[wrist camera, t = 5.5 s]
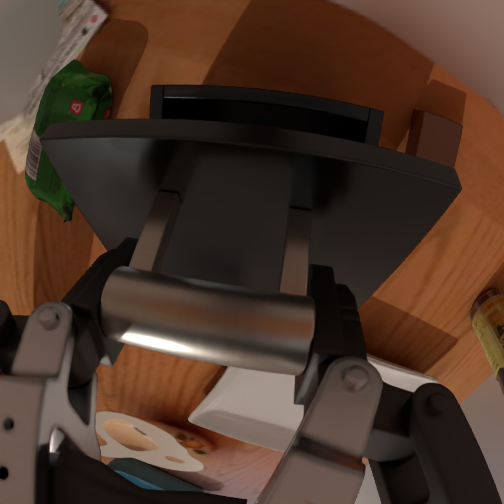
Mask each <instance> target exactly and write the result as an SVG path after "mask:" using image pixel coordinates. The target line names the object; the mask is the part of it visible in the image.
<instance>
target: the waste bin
mask: <svg viewBox="0 0 504 504" xmlns="http://www.w3.org/2000/svg"><path fill="white" fill-rule="evenodd" d="M383 115H384V112H383V111H380V110H376V109H372V108H368V107H364V106H360V105H355V104H351V103H346V102H342V101H337V100H332V99H327V98H321V97H315V96H310V95H303V94H297V93H290V92H283V91H275V90H266V89H257V88H246V87H233V86H216V85H152V86H151V97H150V117H149V119H183V120H203V121H218V122H230V123H241V124H251V125H260V126H268V127H276V128H283V129H290V130H297V131H303V132H309V133H315V134H321V135H326V136H332V137H337V138H342V139H347V140H352V141H356V142H361V143H365V144H370V145H374V146H378V143H379V138H380V132H381V127H382V121H383Z"/></svg>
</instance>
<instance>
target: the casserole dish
mask: <svg viewBox="0 0 504 504" xmlns="http://www.w3.org/2000/svg"><path fill="white" fill-rule="evenodd" d="M107 466H108V467H110V468H111V469H113V470H114V471H116V472H117V473H119V474H120V475H122V476H123V477H125V478H126V479H128V480H129V481H131V482H133V483H134V484H136V485H138V486H139V487H141V488H145V489H153V490H172V491H199V492H203V491H202V489H200V488H198V487H196V486H194V485H191V484H189V483H187V482H185V481H182V480H180V479H178V478H176V477H173V476H171V475H169V474H167V473H165V472H163V471H161V470H159V469H157V468H155V467H153V466H151V465H148V464H146V463H144V462H142V461H140V460H138V459H134V458H121V459H115V460H113V461H111V462H110V463H109V464H108V465H107Z"/></svg>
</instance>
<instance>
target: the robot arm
mask: <svg viewBox="0 0 504 504" xmlns="http://www.w3.org/2000/svg"><path fill="white" fill-rule="evenodd" d="M138 240H139V238H137V237H130V236H128V237H126V238H125V239H124V240H123V242H122V243H121V244H120V245H119V246H118V247H117V248H116V249H111V250H109V251H107V252H106V253H104V254H102V255H101V256H99V257H98V259H97V260H96V261H95V262H94V263H93V264H92V266H91V267H89V269H88V270H87V271H86V272H85V275H82V277H81V278H80V279H79V280H78V281H77V282H76V284H75V285H74V286H73V287H72V288H71V290H70V291H69V292H68V293H67V294H66V296H65V297H64V298H63V299H62V300H61V302H60V301H51V302H47V303H44V304H42V305H40V306H38V307H37V308H36V309H34V310H33V311H32V313H31V314H30V316H22V315H12V313H11V311H10V309H9V307H8V305H7V303H6V302H4V301H2V300H0V504H247V499H240V498H233V497H226V496H220V495H215V494H209V493H204V492H199V491H172V490H153V489H145V488H141V487H139V486H138V485H136V484H134V483H133V482H131V481H129V480H128V479H126V478H125V477H123V476H122V475H120V474H119V473H117V472H116V471H114V470H113V469H111V468H110V467H108V466H107V465H105V464H104V463H103V462H101V450H100V446H99V442H98V439H97V436H96V430H95V419H96V400H97V386H98V375H97V372H96V369H97V367H98V366H99V364H100V363H102V364H105V365H108V366H111V367H113V365H114V363H115V361H116V359H117V357H118V355H119V353H120V351H121V350H122V348H123V346H124V344H125V343H122V342H119V341H115V340H112V339H109V338H108V337H107V336H106V335H105V334H104V332H103V330H102V328H101V324H100V316H99V309H100V300H101V295H102V292H103V288H104V286H105V283H106V281H107V279H108V277H109V276H110V274H111V273H112V272H113V271H114V270H115V269H116V268H118V267H122V266H126V267H129V264H130V262H131V259H132V256H133V253H134V250H135V248H136V245H137V242H138ZM307 296H310V297H312V298H313V299H314V302H315V309H316V321H315V332H314V339H313V345H312V350H311V355H310V358H309V362H308V365H307V367H306V369H305V371H304V373H303V374H302V375H300V376H295V384H294V404H295V405H304V414H303V419H302V421H301V423H300V424H299V426H298V428H297V430H296V432H295V434H294V436H293V438H292V440H291V442H290V444H289V446H288V447H287V449H286V451H285V453H284V455H283V457H282V458H281V460H280V462H279V464H278V465H277V467H276V469H275V471H274V472H273V474H272V476H271V477H270V479H269V481H268V482H267V484H266V486H265V487H264V489H263V490H262V492H261V494H260V495H259V497H258V499H257V500H256V502H255V503H254V504H354V503H355V500H356V498H357V495H358V493H359V490H360V487H361V485H362V482H363V479H364V475H365V468H366V467H365V464H363V463H362V457H365V458H368V461H369V464H370V467H371V470H372V473H373V477H374V480H375V483H376V487H377V490H378V493H379V497H380V500H381V504H502V502H501V499H500V496H499V493H498V491H497V488H496V485H495V483H494V480H493V478H492V475H491V473H490V470H489V468H488V465H487V463H486V461H485V458H484V456H483V454H482V451H481V449H480V447H479V445H478V443H477V440H476V438H475V436H474V434H473V432H472V429H471V427H470V425H469V423H468V421H467V419H466V417H465V415H464V413H463V411H462V409H461V407H460V405H459V403H458V401H457V399H456V398H455V396H454V394H453V393H452V392H451V391H450V390H449V389H448V388H446V387H445V386H443V385H441V384H438V383H425V384H422V385H421V386H419V387H418V388H417V389H416V390H415V392H411V391H408V390H405V389H401V388H398V387H395V386H392V385H390V384H387V383H386V382H384V381H382V377H381V375H380V373H379V371H378V370H377V369H376V368H375V366H373V365H372V364H371V363H370V362H368V359H367V354H366V348H365V343H364V337H363V332H362V327H361V322H360V321H359V320H360V318H359V313H358V311H357V309H358V308H357V304H356V299H355V296H354V294H353V293H352V292H351V290H350V289H349V288H348V287H347V285H344V284H337V283H335V278H334V272H333V268H332V267H331V266H324V265H317V264H310V263H309V273H308V285H307Z"/></svg>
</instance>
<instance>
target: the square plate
mask: <svg viewBox="0 0 504 504" xmlns="http://www.w3.org/2000/svg"><path fill="white" fill-rule="evenodd" d="M366 354H367V353H366ZM367 359H368V362H370V363H371V364H372V365H373V366H375V368H376V369H377V370H378V371H379V373H380V375H381V377H382V381H384V382H386V383H387V384H390V385H392V386H395V387H398V388H401V389H405V390H408V391H411V392H415V390H416V389H417V388H418V387H419V386H421V385H422V384H425V383H439V380H438V379H436V378H434V377H431V376H428V375H425V374H423V373H421V372H418V371H415V370H413V369H410V368H407V367H404V366H400V365H397V364H395V363H392V362H389V361H386V360H383V359H381V358H378V357H375V356H373V355H370V354H367ZM294 384H295V376H294V375H285V374H277V373H269V372H262V371H255V370H248V369H242V368H236V367H230V366H228V367H227V369H226V371H225V372H224V374H223V375H222V376H221V378H220V379H219V381H218V382H217V383H216V385H215V386H214V387H213V389H212V390H211V391H210V392H209V394H208V395H207V396H206V397H205V398H204V399H203V401H202V402H201V403H200V404H199V405H198V406H197V407H196V408H195V410H194V411H193V412H192V413H191V414H190V416H189V418H188V420H189V421H190V422H191V423H193V424H196V425H199V426H201V427H204V428H207V429H209V430H212V431H215V432H218V433H220V434H223V435H226V436H229V437H232V438H235V439H238V440H241V441H244V442H248V443H251V444H255V445H258V446H262V447H266V448H270V449H274V450H278V451H282V452H285V451H286V449H287V447H288V446H289V444H290V442H291V440H292V438H293V436H294V434H295V432H296V430H297V428H298V426H299V424H300V423H301V421H302V419H303V414H304V405H295V404H294Z"/></svg>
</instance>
